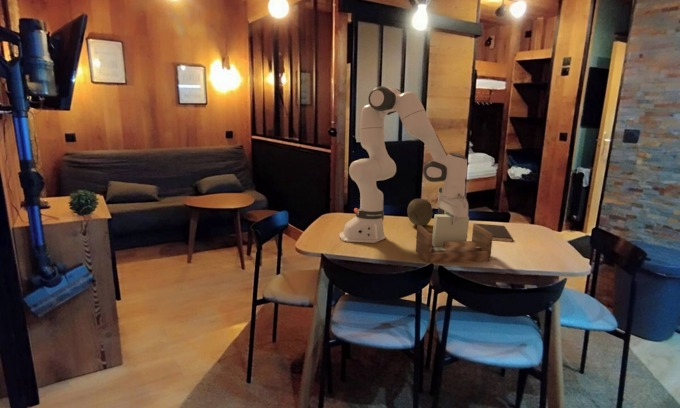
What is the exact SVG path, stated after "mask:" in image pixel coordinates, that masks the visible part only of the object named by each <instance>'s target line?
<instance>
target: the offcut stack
mask: <svg viewBox="0 0 680 408" xmlns="http://www.w3.org/2000/svg"><path fill="white" fill-rule="evenodd" d="M475 249H476V243H474V242H473V241H472V240H469V241H468V240H467V241H455V242H443V247H437V248H433V251H432V252H473V251H474V250H475Z"/></svg>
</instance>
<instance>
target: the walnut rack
mask: <svg viewBox="0 0 680 408" xmlns="http://www.w3.org/2000/svg"><path fill="white" fill-rule="evenodd" d="M477 224H478V223H473V225H472V235H471V241H473V242H474V243H476V249H475V250H474V251H473V252H432V251H433V248H434V247H433V246H432V236H433V233H431V232H430V231H428V229H426V228H425V226H421V225H417V227H416V228H417V229H416V242H415V243H416V244H415V252H416V253H417V254H418V255H419V256H420V257H421V258H422V259H423V260H424V262H426V264H443V263H444V264H445V263H475V262H476V263H480V262H491V255H492V247H493V244H492V243H493V240H492V238H493V234H492V233H490V232H489V231H487V230H485V229H484V228H482V227H480V226H479V225H477Z"/></svg>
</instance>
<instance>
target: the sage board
mask: <svg viewBox="0 0 680 408" xmlns="http://www.w3.org/2000/svg"><path fill="white" fill-rule="evenodd" d="M433 214H434V213H433ZM453 219H454V218H453V215H452V214H450V213H449V214H438V213H437V214H434V217H433V228H432V246H433V247H434V248H437V247H443V242H455V241H468V230H469V223H470V216H468V217H467V218H463V219H460V218H459V220H458V221H457V225H452V221H453Z"/></svg>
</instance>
